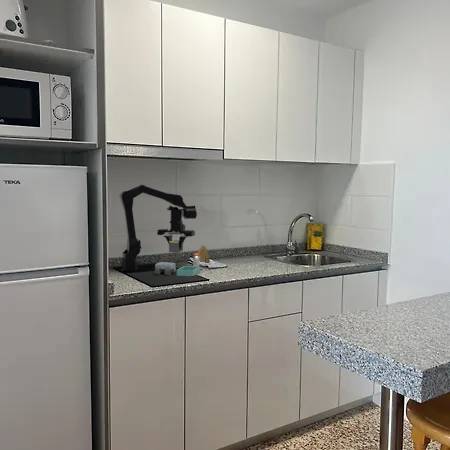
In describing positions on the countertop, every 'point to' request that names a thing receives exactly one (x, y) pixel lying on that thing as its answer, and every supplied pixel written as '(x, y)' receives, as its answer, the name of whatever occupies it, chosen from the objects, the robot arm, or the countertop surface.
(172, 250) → the block
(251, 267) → the countertop surface
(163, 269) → the trolley
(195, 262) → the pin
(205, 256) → the rock
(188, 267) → the tray
